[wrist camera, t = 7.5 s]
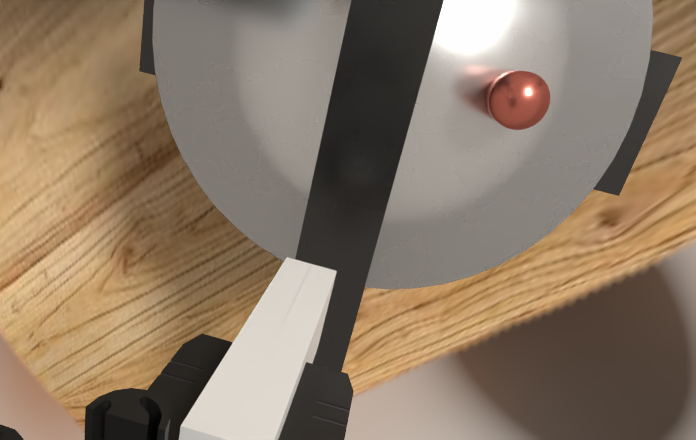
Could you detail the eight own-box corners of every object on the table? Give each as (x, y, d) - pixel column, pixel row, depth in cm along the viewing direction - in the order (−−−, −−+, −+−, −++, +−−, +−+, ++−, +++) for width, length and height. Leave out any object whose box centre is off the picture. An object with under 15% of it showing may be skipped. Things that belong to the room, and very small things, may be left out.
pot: (215, 148, 35) (117, 195, 24) (261, -204, 27) (151, -378, 16) (523, 231, 34) (573, 321, 22) (660, -115, 26) (838, -238, 15)
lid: (135, 337, 26) (98, 374, 23) (196, -273, 17) (148, -345, 14) (483, 439, 25) (492, 492, 22) (735, -157, 16) (809, -208, 13)
